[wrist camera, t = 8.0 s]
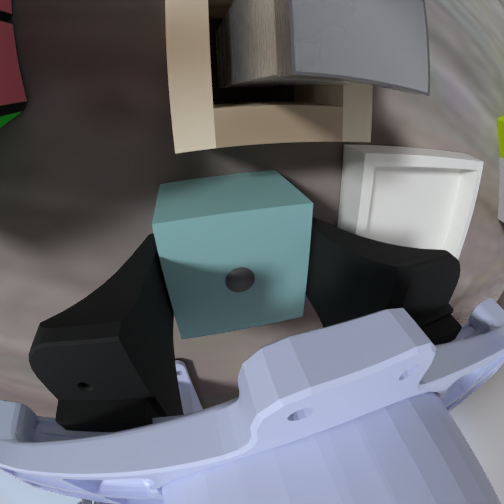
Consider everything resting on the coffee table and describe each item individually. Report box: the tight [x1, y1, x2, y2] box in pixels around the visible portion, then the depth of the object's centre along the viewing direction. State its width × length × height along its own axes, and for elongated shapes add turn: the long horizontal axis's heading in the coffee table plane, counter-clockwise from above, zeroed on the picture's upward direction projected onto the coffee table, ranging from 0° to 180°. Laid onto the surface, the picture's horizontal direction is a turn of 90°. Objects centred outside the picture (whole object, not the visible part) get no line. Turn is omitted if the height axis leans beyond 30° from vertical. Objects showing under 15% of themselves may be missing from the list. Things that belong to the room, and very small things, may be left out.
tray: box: [337, 145, 484, 259], centre depth 15 cm, size 10×10×2 cm
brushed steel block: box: [216, 0, 430, 96], centre depth 6 cm, size 3×3×8 cm
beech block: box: [165, 0, 373, 154], centre depth 8 cm, size 6×6×4 cm
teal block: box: [152, 170, 313, 339], centre depth 11 cm, size 5×5×4 cm
